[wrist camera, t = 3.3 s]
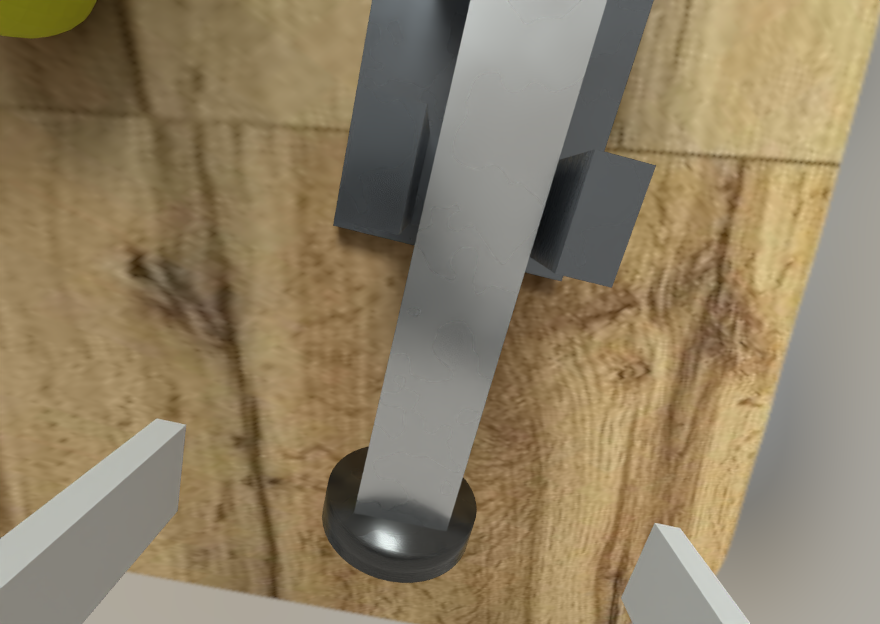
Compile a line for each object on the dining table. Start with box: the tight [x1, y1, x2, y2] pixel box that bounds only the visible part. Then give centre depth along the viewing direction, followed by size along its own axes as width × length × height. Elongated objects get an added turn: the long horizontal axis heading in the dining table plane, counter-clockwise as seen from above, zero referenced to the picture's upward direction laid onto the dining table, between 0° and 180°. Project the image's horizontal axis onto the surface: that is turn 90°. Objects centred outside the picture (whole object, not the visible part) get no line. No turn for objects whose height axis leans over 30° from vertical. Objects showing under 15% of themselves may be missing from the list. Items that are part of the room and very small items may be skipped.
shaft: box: [322, 0, 607, 583], centre depth 12 cm, size 6×31×6 cm, turn 166°
